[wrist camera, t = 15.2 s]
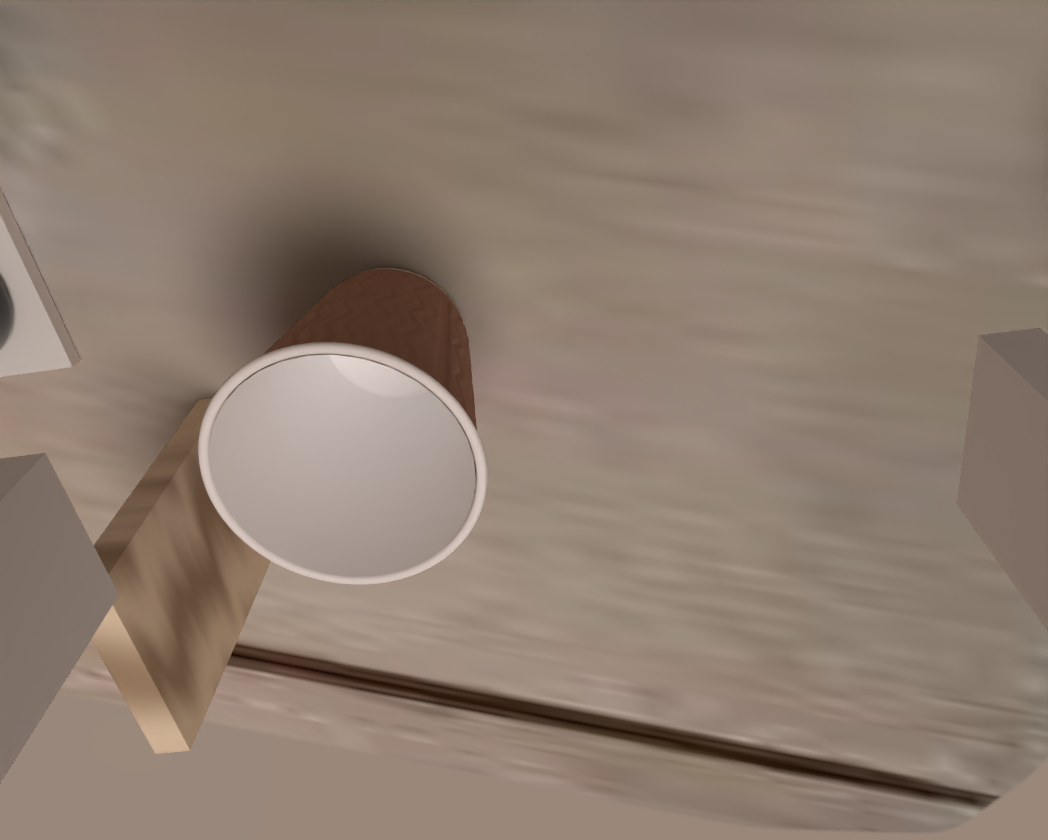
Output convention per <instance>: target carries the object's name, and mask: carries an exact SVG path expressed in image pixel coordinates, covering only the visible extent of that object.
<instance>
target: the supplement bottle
mask: <svg viewBox="0 0 1048 840" xmlns="http://www.w3.org/2000/svg"><path fill="white" fill-rule="evenodd" d="M11 324H12V310H11V304H10V300H9V297H8V294H7V292H6V289H5V287H4V285H3V283H2V281H1V280H0V350H1V348H2V347H3V346H4V344H5V342H6V341H7V339H8V336H9V333H10V330H11Z"/></svg>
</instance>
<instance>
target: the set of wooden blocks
mask: <svg viewBox="0 0 1048 840" xmlns="http://www.w3.org/2000/svg"><path fill="white" fill-rule="evenodd" d="M211 400H212V398H208V399H201V400H198V402H197V403H196V404H195V406H194V407H193V409H192V410H191V411H190V413H189V414H188V415H187V417H186V418H185V420H184V421H183V422H182V424H181V425H180V427H179V428H178V429H177V431H176V432H175V434H174V435H173V436H172V438H171V439H170V440H169V442H168V443H167V445H166V446H165V447H164V449H163V450H162V452H161V453H160V454H159V456H158V457H157V459H156V460H155V461H154V463H153V464H152V465H151V467H150V468H149V470H148V471H147V472H146V474H145V475H144V477H143V478H142V479H141V481H140V482H139V484H138V485H137V486H136V488H135V489H134V490H133V492H132V493H131V495H130V496H129V497H128V499H127V500H126V502H125V503H124V504H123V506H122V507H121V509H120V510H119V511H118V513H117V514H116V515H115V517H114V518H113V520H112V521H111V522H110V524H109V525H108V527H107V528H106V529H105V531H104V532H103V534H102V535H101V536H100V538H99V539H98V540H97V542H96V543H95V545H94V547H95V549H96V551H97V553H98V555H99V557H100V559H101V561H102V563H103V565H104V567H105V569H106V570H107V572H108V574H109V576H110V578H111V580H112V582H113V584H114V586H115V588H116V590H117V592H118V594H119V596H118V597H117V599H116V601H115V602H114V604H113V605H112V607H111V609H110V610H109V612H108V613H107V615H106V616H105V618H104V620H103V621H102V623H101V624H100V626H99V628H98V629H97V631H96V632H95V634H94V636H93V637H92V639H91V640H92V642H93V644H94V646H95V647H96V649H97V651H98V653H99V655H100V656H101V658H102V660H103V662H104V663H105V665H106V667H107V669H108V670H109V672H110V674H111V676H112V678H113V679H114V681H115V683H116V685H117V686H118V688H119V690H120V692H121V693H122V695H123V697H124V699H125V701H126V702H127V704H128V706H129V708H130V709H131V711H132V713H133V715H134V716H135V718H136V720H137V722H138V723H139V725H140V727H141V729H142V731H143V732H144V734H145V736H146V738H147V739H148V741H149V743H150V744H151V747H152V748H153V750H154V752H155V754H156V753H168V752H178V751H189V750H191V747H192V745H193V743H194V740H195V738H196V735H197V733H198V731H199V728H200V726H201V724H202V721H203V719H204V717H205V714H206V712H207V710H208V707H209V705H210V703H211V700H212V698H213V696H214V693H215V691H216V688H217V686H218V684H219V681H220V679H221V677H222V674H223V672H224V670H225V667H226V665H227V663H228V660H229V658H230V656H231V653H232V651H233V648H234V646H235V644H236V641H237V639H238V637H239V634H240V632H241V630H242V627H243V625H244V623H245V620H246V618H247V616H248V613H249V611H250V608H251V606H252V604H253V601H254V599H255V597H256V594H257V592H258V590H259V587H260V585H261V583H262V580H263V578H264V576H265V573H266V571H267V568H268V566H269V564H270V560H269V559H267V558H265V557H264V556H262V555H261V554H259V553H258V552H256V551H255V550H253V549H252V548H251V547H250V546H248V545H247V544H246V543H245V542H244V541H243V540H241V539H240V538H239V537H238V536H237V535H236V534H235V533H234V532H233V531H232V530H231V529H230V527H229V526H228V525H227V524H226V523H225V521H224V520H223V519H222V517H221V516H220V515H219V513H218V512H217V510H216V508H215V507H214V505H213V503H212V501H211V500H210V497H209V495H208V493H207V491H206V488H205V485H204V482H203V479H202V475H201V471H200V465H199V456H198V441H199V432H200V427H201V423H202V420H203V417H204V414H205V411H206V409H207V407H208V405H209V403H210V401H211ZM226 400H227V399H226ZM226 400H225V401H226ZM224 403H225V402H224ZM224 403H223V404H224ZM220 410H221V408H220ZM220 410H219V412H220ZM219 412H218V414H219ZM218 414H217V416H218ZM217 416H216V418H217ZM215 420H216V419H215ZM214 422H215V421H214ZM211 433H212V432H211Z"/></svg>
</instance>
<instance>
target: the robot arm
mask: <svg viewBox="0 0 1048 840" xmlns="http://www.w3.org/2000/svg"><path fill="white" fill-rule="evenodd" d="M957 505H958V506H959V508H960V509H961V510H962V512H963V513H964V515H965V516H966V517H967V519H968V520H969V522H970V523H971V524H972V526H973V527H974V529H975V530H976V531H977V533H978V534H979V536H980V537H981V538H982V540H983V541H984V543H985V544H986V545H987V547H988V548H989V550H990V551H991V552H992V554H993V555H994V557H995V558H996V559H997V561H998V562H999V564H1000V565H1001V566H1002V568H1003V569H1004V571H1005V572H1006V573H1007V575H1008V576H1009V578H1010V579H1011V580H1012V582H1013V583H1014V585H1015V586H1016V587H1017V589H1018V590H1019V592H1020V593H1021V594H1022V596H1023V597H1024V599H1025V600H1026V601H1027V603H1028V604H1029V606H1030V607H1031V608H1032V610H1033V611H1034V613H1035V614H1036V615H1037V617H1038V618H1039V620H1040V621H1041V622H1042V624H1043V625H1044V627H1045V628H1046V629H1047V631H1048V334H1046V333H1045V332H1044V331H1043V330H1041V329H1040V328H1035V329H1027V330H1019V331H1011V332H1003V333H995V334H987V335H979V337H978V344H977V352H976V360H975V368H974V375H973V383H972V391H971V399H970V406H969V414H968V422H967V430H966V437H965V445H964V453H963V461H962V468H961V476H960V484H959V491H958V499H957ZM118 596H119V594H118V592H117V590H116V588H115V586H114V584H113V582H112V580H111V578H110V576H109V574H108V572H107V570H106V569H105V567H104V565H103V563H102V561H101V559H100V557H99V555H98V553H97V551H96V549H95V547H94V546H93V544H92V542H91V540H90V538H89V536H88V534H87V532H86V530H85V528H84V526H83V524H82V522H81V521H80V519H79V517H78V515H77V513H76V511H75V509H74V507H73V505H72V503H71V501H70V499H69V497H68V496H67V494H66V492H65V490H64V488H63V486H62V484H61V482H60V480H59V478H58V476H57V474H56V472H55V471H54V469H53V467H52V465H51V463H50V461H49V459H48V457H47V455H46V453H42V454H34V455H26V456H18V457H10V458H2V459H0V783H1V781H2V780H3V778H4V777H5V775H6V774H7V772H8V770H9V769H10V767H11V766H12V764H13V763H14V761H15V759H16V758H17V756H18V755H19V753H20V751H21V750H22V748H23V747H24V745H25V744H26V742H27V740H28V739H29V737H30V735H31V734H32V732H33V731H34V729H35V728H36V726H37V724H38V723H39V721H40V720H41V718H42V717H43V715H44V713H45V712H46V710H47V709H48V707H49V705H50V704H51V702H52V700H53V699H54V697H55V696H56V694H57V693H58V691H59V690H60V688H61V686H62V685H63V683H64V682H65V680H66V678H67V677H68V675H69V674H70V672H71V670H72V669H73V667H74V666H75V664H76V663H77V661H78V659H79V658H80V656H81V655H82V653H83V651H84V650H85V648H86V647H87V645H88V643H89V642H90V640H91V639H92V637H93V636H94V634H95V632H96V631H97V629H98V628H99V626H100V624H101V623H102V621H103V620H104V618H105V616H106V615H107V613H108V612H109V610H110V609H111V607H112V605H113V604H114V602H115V601H116V599H117V597H118Z"/></svg>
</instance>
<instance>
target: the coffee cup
mask: <svg viewBox="0 0 1048 840" xmlns="http://www.w3.org/2000/svg"><path fill="white" fill-rule="evenodd" d="M226 399H227V400H226ZM225 400H226V401H225ZM224 402H225V403H224ZM223 403H224V404H223ZM220 408H221V410H220ZM219 410H220V412H219ZM218 412H219V414H218ZM217 414H218V416H217ZM216 416H217V418H216ZM215 419H216V420H215ZM214 421H215V422H214ZM211 432H212V433H211ZM198 456H199V465H200V471H201V475H202V479H203V482H204V485H205V488H206V491H207V493H208V495H209V497H210V500H211V501H212V503H213V505H214V507H215V508H216V510H217V512H218V513H219V515H220V516H221V517H222V519H223V520H224V521H225V523H226V524H227V525H228V526H229V527H230V529H231V530H232V531H233V532H234V533H235V534H236V535H237V536H238V537H239V538H240V539H241V540H243V541H244V542H245V543H246V544H247V545H248V546H250V547H251V548H252V549H253V550H255V551H256V552H258V553H259V554H261V555H262V556H264V557H265V558H267V559H269V560H270V561H272V562H274V563H276V564H278V565H280V566H282V567H284V568H286V569H288V570H290V571H293V572H296V573H298V574H301V575H304V576H307V577H311V578H314V579H318V580H323V581H328V582H334V583H342V584H376V583H384V582H390V581H395V580H399V579H403V578H406V577H409V576H412V575H415V574H417V573H419V572H422V571H424V570H426V569H428V568H430V567H432V566H433V565H435V564H437V563H438V562H440V561H441V560H443V559H444V558H445V557H447V556H448V555H449V554H450V553H452V552H453V551H454V550H455V549H456V548H457V547H458V546H459V545H460V544H461V543H462V542H463V541H464V539H465V538H466V537H467V536H468V534H469V533H470V532H471V530H472V528H473V527H474V525H475V523H476V522H477V520H478V518H479V515H480V513H481V510H482V507H483V504H484V501H485V496H486V490H487V464H486V458H485V453H484V449H483V446H482V443H481V440H480V437H479V435H478V432H477V426H476V419H475V405H474V394H473V385H472V373H471V362H470V353H469V341H468V337H467V333H466V328H465V326H464V325H463V321H462V318H461V317H460V314H459V312H458V310H457V308H456V307H455V305H454V303H453V302H452V300H451V299H450V298H449V297H448V295H447V294H446V293H445V292H444V291H443V290H442V289H441V288H439V287H438V286H437V285H436V284H435V283H433V282H432V281H430V280H428V279H426V278H425V277H423V276H421V275H419V274H416V273H413V272H410V271H407V270H402V269H396V268H376V269H372V270H368V271H363V272H361V273H359V274H356V275H354V276H351V277H350V278H349V279H347V280H345V281H341V282H340V283H339V284H338V285H337V286H336V287H333V288H332V289H331V290H330V291H329V292H328V293H327V294H325V295H324V296H323V297H322V298H321V299H320V300H319V301H318V302H317V303H316V304H315V305H314V306H313V307H312V308H311V309H310V310H309V311H308V312H307V313H306V314H305V315H304V316H303V317H302V318H301V319H300V320H299V321H297V322H296V323H295V324H294V325H293V326H292V327H291V328H290V329H289V330H288V331H287V332H286V334H284V335H283V336H282V337H281V338H280V339H279V340H278V341H277V342H276V343H275V344H274V345H273V346H272V347H271V348H270V349H269V350H267V351H266V352H265V353H264V354H263V355H262V356H260V357H258V358H256V359H254V360H252V361H250V362H249V363H247V364H246V365H244V366H243V367H241V368H240V369H239V370H237V371H236V372H235V373H234V374H232V375H231V376H230V377H229V378H228V379H227V380H226V381H225V382H224V383H223V384H222V386H221V387H220V388H219V389H218V391H217V392H216V393H215V395H214V396H213V398H212V400H211V401H210V403H209V405H208V407H207V409H206V411H205V414H204V417H203V420H202V423H201V427H200V432H199V441H198ZM475 485H476V490H475ZM474 493H475V495H474ZM473 498H474V500H473ZM470 508H471V509H470ZM469 511H470V512H469ZM468 513H469V514H468Z"/></svg>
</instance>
